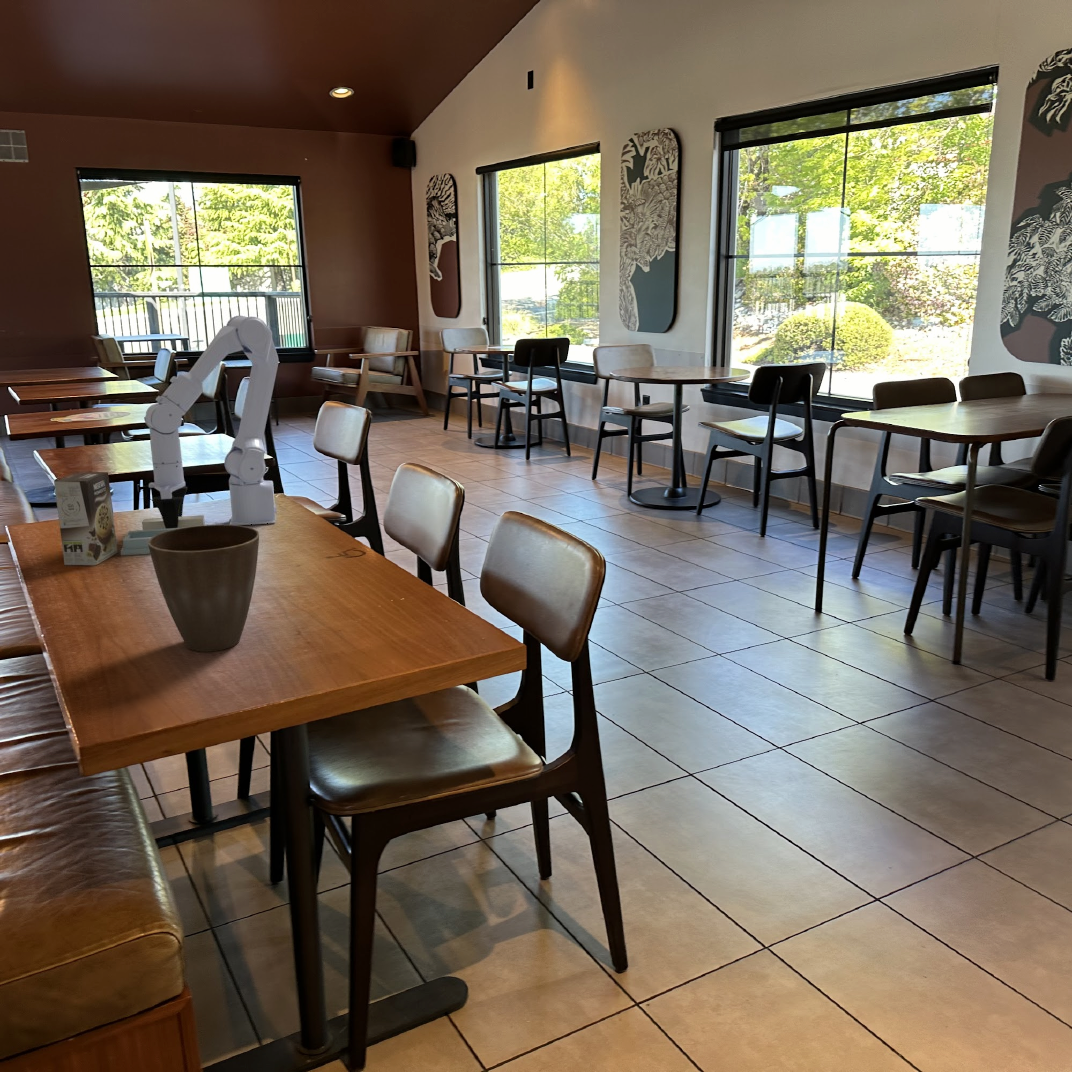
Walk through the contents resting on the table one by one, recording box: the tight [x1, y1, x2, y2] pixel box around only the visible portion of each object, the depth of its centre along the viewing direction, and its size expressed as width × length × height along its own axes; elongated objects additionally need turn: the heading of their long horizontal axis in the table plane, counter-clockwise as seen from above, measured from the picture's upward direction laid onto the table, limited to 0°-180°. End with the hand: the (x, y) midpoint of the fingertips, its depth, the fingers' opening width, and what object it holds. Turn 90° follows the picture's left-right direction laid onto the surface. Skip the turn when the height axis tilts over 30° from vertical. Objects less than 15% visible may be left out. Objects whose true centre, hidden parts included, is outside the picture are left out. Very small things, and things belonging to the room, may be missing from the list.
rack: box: [120, 528, 179, 556], centre depth 189 cm, size 16×9×3 cm, turn 104°
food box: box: [53, 471, 118, 566], centre depth 180 cm, size 9×6×16 cm
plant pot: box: [148, 524, 260, 653], centre depth 137 cm, size 15×15×16 cm
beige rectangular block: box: [141, 514, 206, 530], centre depth 201 cm, size 12×3×3 cm, turn 104°
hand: (174, 525), depth 201 cm, fingers open, 7 cm apart
